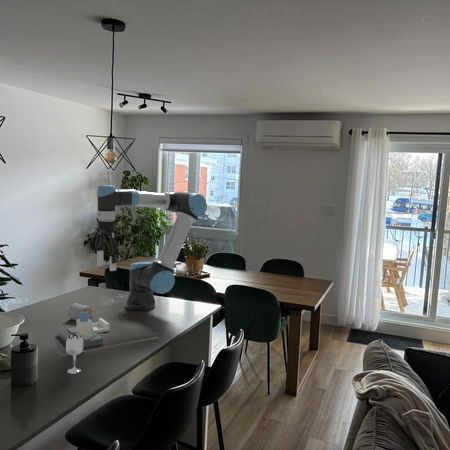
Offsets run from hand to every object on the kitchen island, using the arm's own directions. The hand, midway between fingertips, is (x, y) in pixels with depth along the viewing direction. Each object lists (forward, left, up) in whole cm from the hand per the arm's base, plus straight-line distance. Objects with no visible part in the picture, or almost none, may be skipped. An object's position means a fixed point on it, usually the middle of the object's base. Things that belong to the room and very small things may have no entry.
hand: (106, 267), depth 201 cm
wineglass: (+28, +42, -26) cm, 57 cm away
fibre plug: (+17, +20, -26) cm, 37 cm away
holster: (+7, +7, -26) cm, 27 cm away
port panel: (+17, +16, -26) cm, 35 cm away
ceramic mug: (+7, -10, -26) cm, 29 cm away
